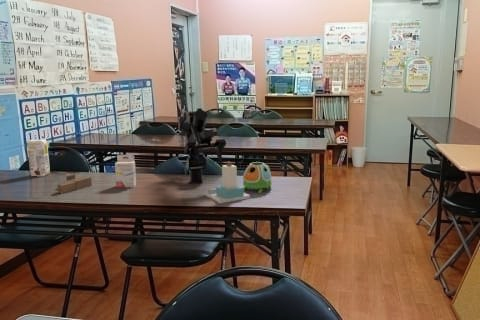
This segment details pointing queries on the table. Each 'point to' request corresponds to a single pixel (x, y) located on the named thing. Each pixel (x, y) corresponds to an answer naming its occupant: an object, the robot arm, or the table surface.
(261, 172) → the turtle holder
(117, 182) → the ink cartridge box
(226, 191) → the cleat stand
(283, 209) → the table surface
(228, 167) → the block
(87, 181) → the wooden block set
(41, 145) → the juice carton
